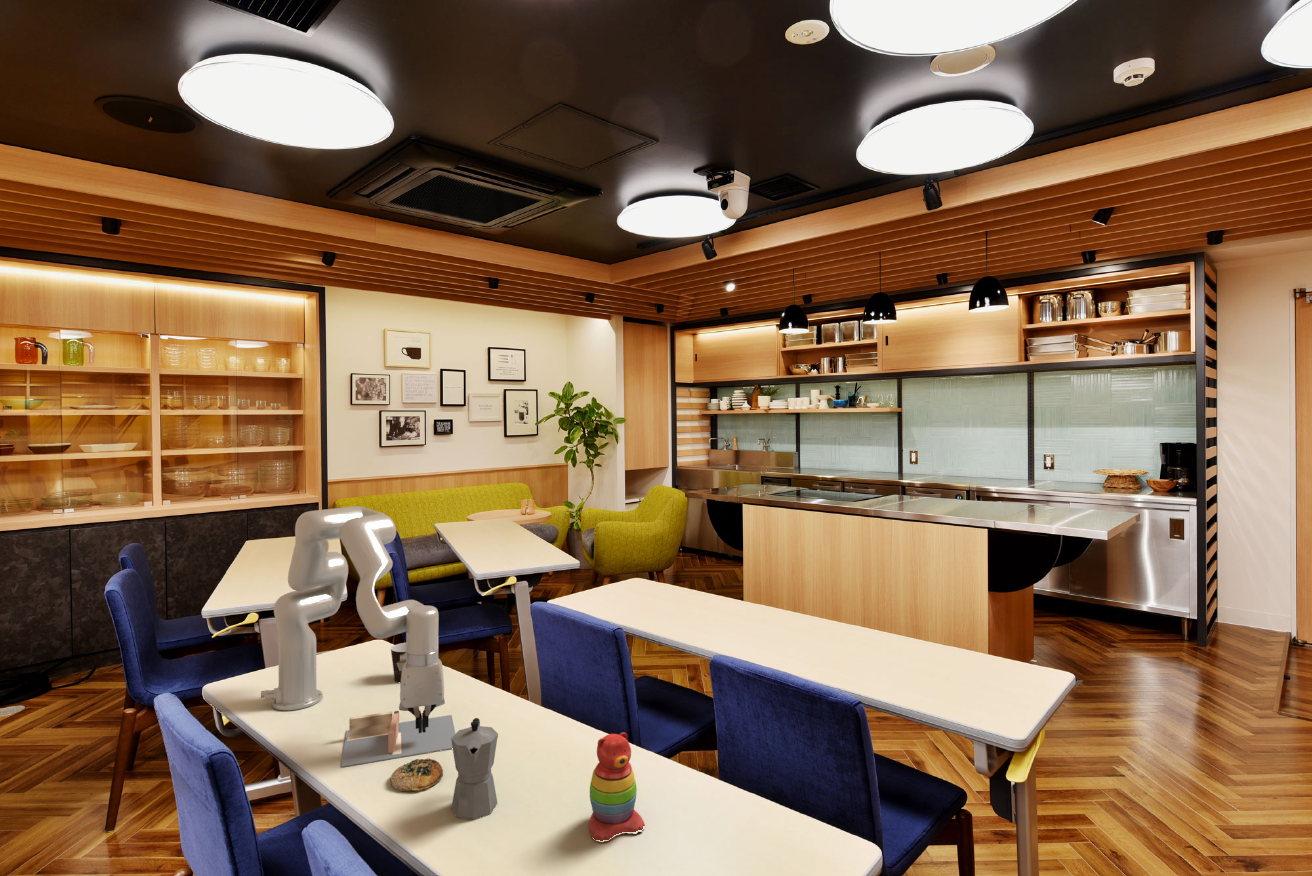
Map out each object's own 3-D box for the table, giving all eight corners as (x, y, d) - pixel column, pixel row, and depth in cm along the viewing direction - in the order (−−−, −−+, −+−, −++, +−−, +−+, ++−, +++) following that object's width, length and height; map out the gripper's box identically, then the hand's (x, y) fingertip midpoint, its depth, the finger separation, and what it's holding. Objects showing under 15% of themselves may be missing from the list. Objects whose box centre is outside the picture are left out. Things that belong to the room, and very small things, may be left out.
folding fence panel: (393, 732, 169) (393, 713, 169) (398, 731, 169) (398, 713, 169) (388, 753, 159) (388, 733, 158) (393, 752, 159) (393, 732, 159)
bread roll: (444, 763, 155) (443, 744, 154) (442, 795, 144) (441, 775, 144) (393, 771, 152) (392, 752, 151) (387, 805, 142) (386, 784, 141)
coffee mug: (384, 681, 203) (384, 649, 203) (404, 672, 211) (404, 641, 211) (414, 687, 199) (414, 654, 199) (434, 677, 207) (434, 645, 207)
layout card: (341, 767, 153) (341, 766, 153) (346, 731, 170) (346, 730, 170) (458, 748, 162) (458, 746, 162) (451, 716, 180) (451, 714, 180)
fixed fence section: (349, 739, 166) (349, 719, 165) (349, 737, 167) (349, 717, 167) (399, 732, 170) (399, 712, 170) (399, 730, 171) (399, 710, 171)
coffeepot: (497, 823, 132) (497, 734, 132) (448, 829, 130) (448, 738, 130) (498, 782, 147) (498, 702, 147) (454, 787, 145) (454, 705, 145)
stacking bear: (595, 845, 125) (596, 753, 125) (580, 816, 135) (580, 730, 134) (648, 832, 130) (649, 742, 129) (629, 804, 139) (630, 721, 139)
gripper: (389, 666, 157) (389, 742, 158) (455, 658, 163) (454, 732, 163) (389, 655, 164) (389, 728, 165) (452, 648, 170) (452, 719, 170)
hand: (421, 730), depth 164 cm, fingers closed
